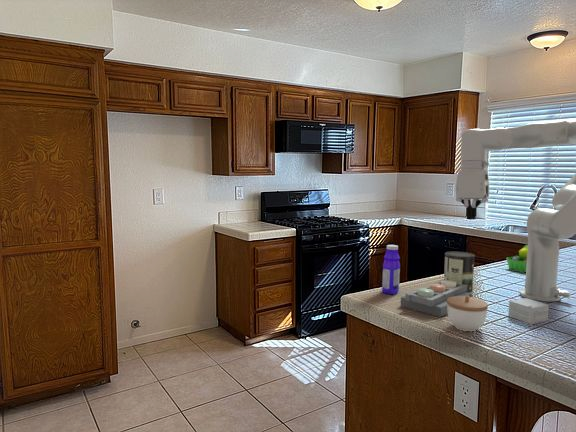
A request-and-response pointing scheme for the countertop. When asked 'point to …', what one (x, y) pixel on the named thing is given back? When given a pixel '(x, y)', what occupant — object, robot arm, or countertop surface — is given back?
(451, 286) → the cream button
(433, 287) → the peach rounded dome
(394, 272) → the bottle
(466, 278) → the coffee can
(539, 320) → the small box
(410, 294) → the grey compartment tray
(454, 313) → the lidded jar
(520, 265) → the fruit basket
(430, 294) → the sage button
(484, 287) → the countertop surface
